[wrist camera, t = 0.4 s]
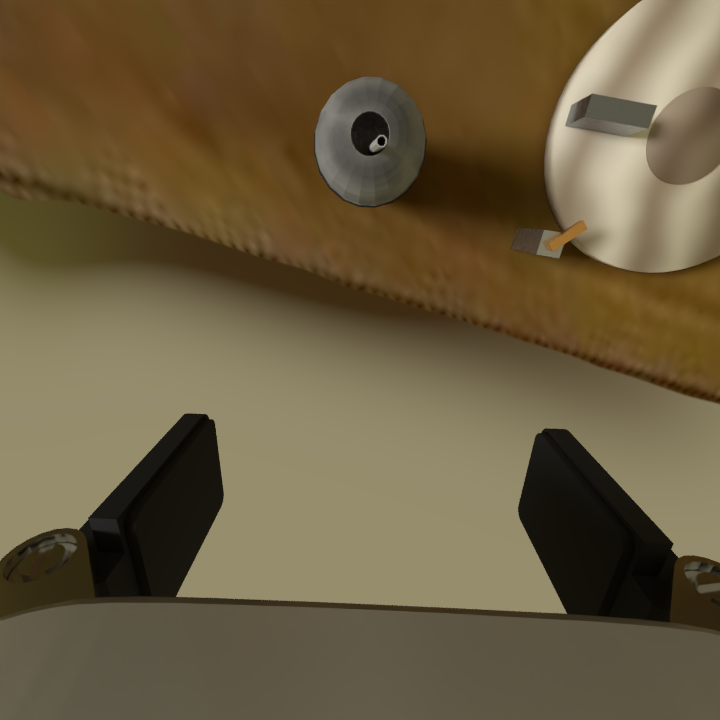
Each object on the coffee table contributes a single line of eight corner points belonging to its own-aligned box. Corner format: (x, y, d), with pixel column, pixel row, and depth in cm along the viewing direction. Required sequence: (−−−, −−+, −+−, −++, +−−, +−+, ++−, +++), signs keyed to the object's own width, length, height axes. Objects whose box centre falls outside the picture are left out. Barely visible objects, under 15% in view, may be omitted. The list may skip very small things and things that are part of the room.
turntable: (870, 8, 29) (966, -32, 24) (726, 286, 37) (777, 296, 32) (600, -47, 28) (646, -98, 23) (512, 250, 36) (533, 255, 31)
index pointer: (520, 215, 36) (552, 214, 30) (552, 220, 36) (590, 221, 30) (510, 248, 37) (539, 255, 31) (541, 253, 37) (575, 261, 31)
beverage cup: (390, 107, 33) (419, -37, 14) (420, 189, 35) (478, 159, 16) (317, 146, 34) (254, 60, 15) (350, 223, 36) (331, 230, 18)
